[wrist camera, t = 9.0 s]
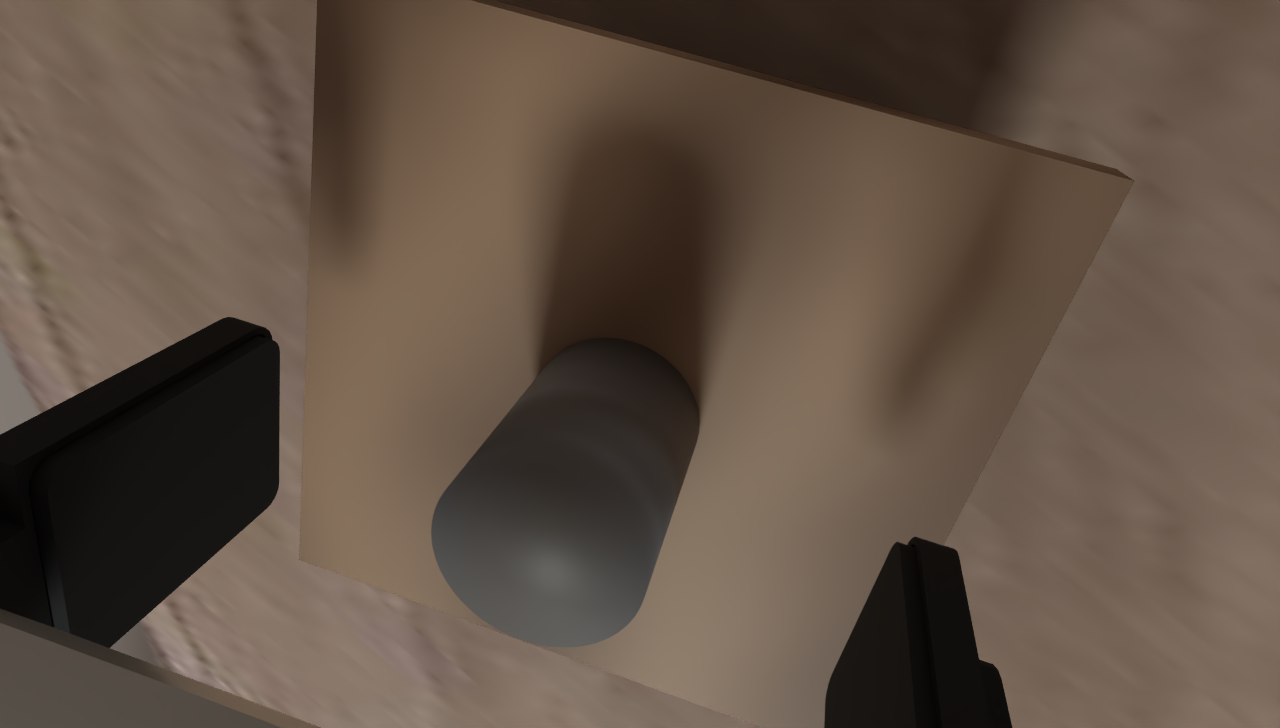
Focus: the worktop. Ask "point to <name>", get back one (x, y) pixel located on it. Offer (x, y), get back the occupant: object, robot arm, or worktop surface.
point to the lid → (655, 339)
